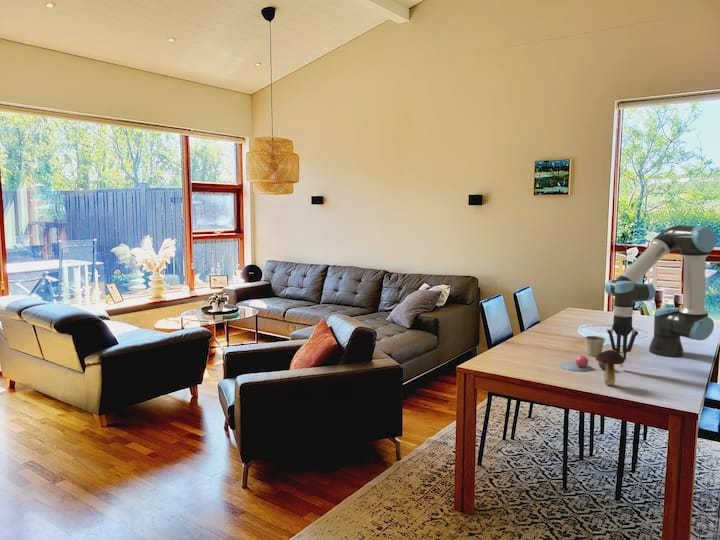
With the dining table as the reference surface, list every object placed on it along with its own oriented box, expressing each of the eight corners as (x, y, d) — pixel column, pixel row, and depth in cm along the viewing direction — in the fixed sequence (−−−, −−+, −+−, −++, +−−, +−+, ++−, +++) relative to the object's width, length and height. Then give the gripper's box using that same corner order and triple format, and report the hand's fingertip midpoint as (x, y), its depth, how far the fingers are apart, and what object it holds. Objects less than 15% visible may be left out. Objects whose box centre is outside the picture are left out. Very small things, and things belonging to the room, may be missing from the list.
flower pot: (603, 352, 269) (603, 336, 268) (606, 358, 260) (607, 340, 259) (583, 351, 271) (583, 335, 270) (585, 356, 262) (586, 339, 261)
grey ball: (597, 356, 245) (597, 367, 245) (599, 359, 239) (600, 371, 240) (610, 355, 243) (610, 367, 244) (612, 359, 238) (613, 371, 239)
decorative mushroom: (615, 391, 214) (616, 355, 212) (589, 384, 222) (591, 349, 221) (628, 385, 220) (630, 350, 218) (603, 379, 229) (605, 345, 227)
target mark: (590, 363, 251) (590, 363, 251) (593, 372, 237) (593, 372, 237) (558, 361, 255) (558, 361, 255) (560, 370, 241) (560, 369, 241)
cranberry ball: (587, 354, 247) (575, 354, 248) (589, 357, 241) (576, 357, 243) (587, 366, 247) (574, 365, 249) (588, 369, 242) (576, 368, 244)
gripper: (608, 316, 236) (606, 367, 239) (640, 317, 232) (638, 369, 235) (606, 313, 243) (603, 362, 246) (637, 314, 239) (634, 364, 242)
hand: (620, 366), depth 240 cm, fingers closed
